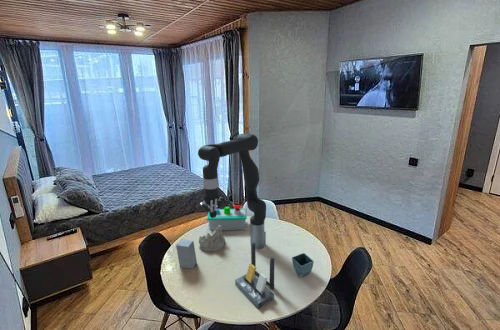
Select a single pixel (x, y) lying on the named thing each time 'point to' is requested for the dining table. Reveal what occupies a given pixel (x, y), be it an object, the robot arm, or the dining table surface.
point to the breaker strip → (254, 291)
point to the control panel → (229, 219)
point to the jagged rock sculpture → (212, 240)
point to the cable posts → (272, 260)
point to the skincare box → (186, 253)
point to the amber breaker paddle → (250, 272)
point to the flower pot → (302, 264)
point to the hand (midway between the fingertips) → (213, 217)
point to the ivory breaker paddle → (261, 282)
